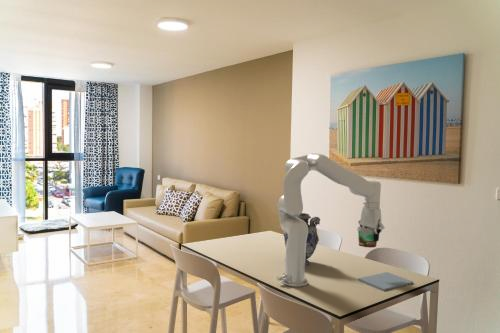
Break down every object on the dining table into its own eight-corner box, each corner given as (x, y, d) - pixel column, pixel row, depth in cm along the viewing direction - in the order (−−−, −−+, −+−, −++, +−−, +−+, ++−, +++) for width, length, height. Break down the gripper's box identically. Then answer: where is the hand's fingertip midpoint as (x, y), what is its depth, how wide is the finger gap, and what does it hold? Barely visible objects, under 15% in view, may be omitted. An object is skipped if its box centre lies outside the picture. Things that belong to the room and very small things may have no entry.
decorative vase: (275, 263, 225) (278, 213, 224) (288, 255, 242) (291, 209, 240) (312, 270, 215) (315, 218, 214) (322, 262, 232) (325, 214, 230)
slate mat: (383, 291, 189) (383, 288, 189) (357, 280, 202) (357, 278, 202) (413, 283, 200) (413, 281, 200) (386, 273, 214) (387, 272, 214)
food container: (363, 248, 202) (364, 229, 202) (356, 245, 208) (357, 226, 207) (383, 247, 206) (385, 228, 205) (376, 244, 212) (377, 225, 211)
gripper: (354, 203, 211) (352, 236, 212) (381, 208, 196) (379, 244, 198) (363, 202, 215) (361, 235, 216) (391, 207, 201) (389, 242, 202)
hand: (370, 239), depth 207 cm, fingers closed on food container, 6 cm apart
